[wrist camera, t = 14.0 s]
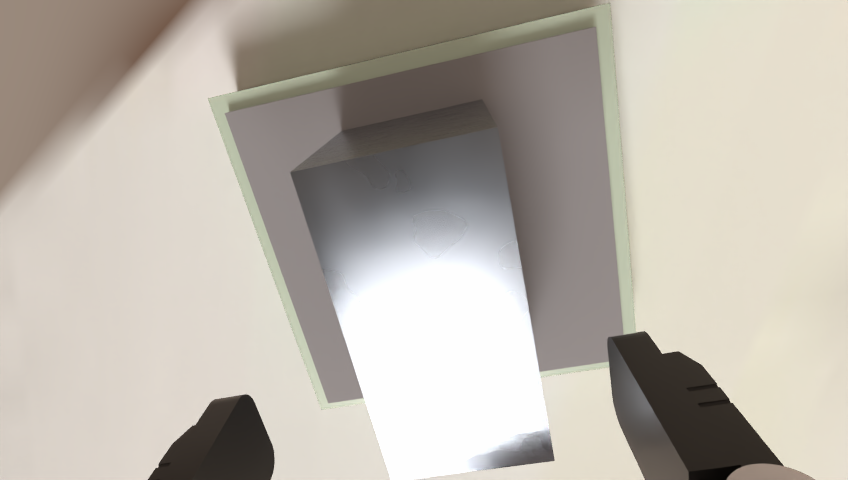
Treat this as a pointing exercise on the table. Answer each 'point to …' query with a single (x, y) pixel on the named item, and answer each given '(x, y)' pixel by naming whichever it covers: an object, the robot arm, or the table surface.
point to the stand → (524, 165)
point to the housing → (430, 289)
